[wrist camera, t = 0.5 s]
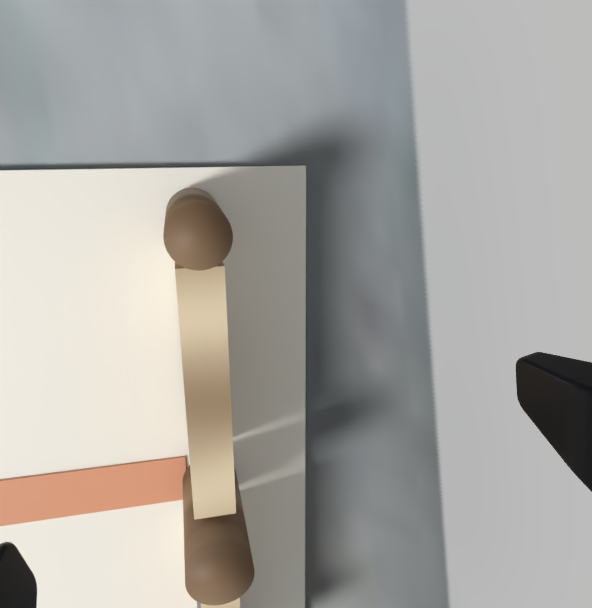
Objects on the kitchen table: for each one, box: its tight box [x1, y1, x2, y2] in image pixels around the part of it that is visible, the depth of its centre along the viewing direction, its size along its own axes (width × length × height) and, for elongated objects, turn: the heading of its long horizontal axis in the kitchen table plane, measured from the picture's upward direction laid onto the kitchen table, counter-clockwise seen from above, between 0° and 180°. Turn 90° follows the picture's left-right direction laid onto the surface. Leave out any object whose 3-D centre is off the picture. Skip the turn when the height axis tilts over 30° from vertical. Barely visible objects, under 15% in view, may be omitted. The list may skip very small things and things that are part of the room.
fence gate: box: [163, 188, 255, 605], centre depth 19 cm, size 14×2×6 cm, turn 0°
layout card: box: [0, 165, 306, 608], centre depth 22 cm, size 25×19×1 cm
